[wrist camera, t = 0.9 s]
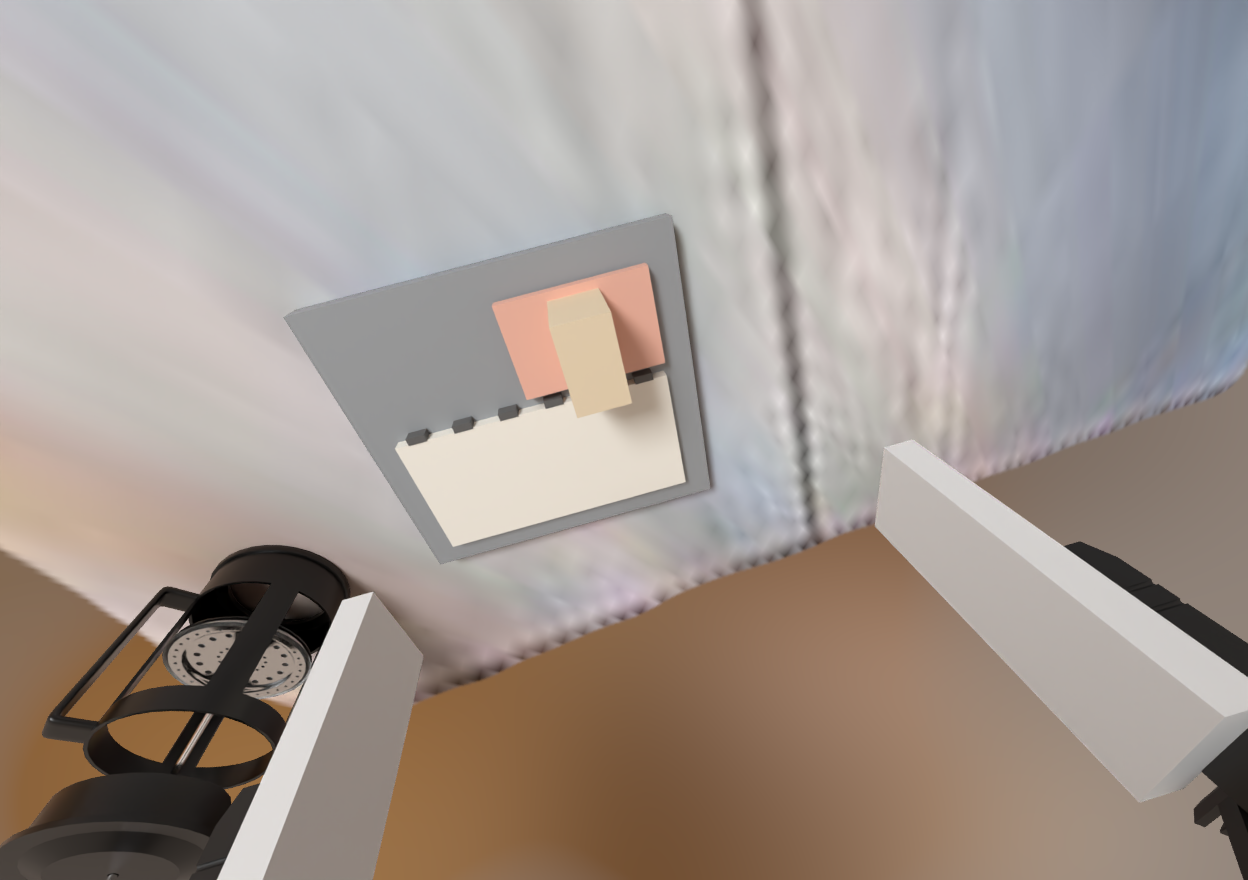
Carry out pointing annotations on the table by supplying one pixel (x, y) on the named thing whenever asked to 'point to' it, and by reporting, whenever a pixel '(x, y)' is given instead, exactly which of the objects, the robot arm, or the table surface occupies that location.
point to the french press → (213, 689)
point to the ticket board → (508, 397)
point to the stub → (584, 337)
